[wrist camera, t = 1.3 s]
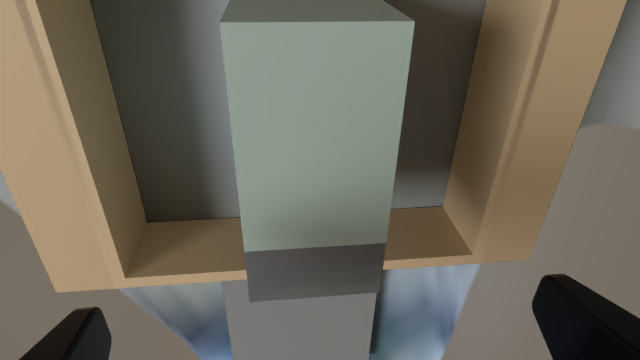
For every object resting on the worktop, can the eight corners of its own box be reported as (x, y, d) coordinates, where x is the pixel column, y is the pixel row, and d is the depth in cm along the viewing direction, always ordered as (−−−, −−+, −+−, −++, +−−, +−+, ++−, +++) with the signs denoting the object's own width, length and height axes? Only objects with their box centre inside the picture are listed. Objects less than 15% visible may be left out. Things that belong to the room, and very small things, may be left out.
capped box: (354, -19, 14) (415, 21, 9) (344, 176, 19) (379, 292, 13) (238, -19, 14) (219, 22, 8) (254, 180, 18) (249, 302, 12)
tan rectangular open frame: (581, -100, 14) (667, -106, 11) (491, 211, 21) (528, 259, 18) (-37, -115, 12) (-136, -128, 9) (89, 234, 19) (56, 292, 16)
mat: (377, 256, 22) (380, 264, 21) (366, 352, 26) (368, 361, 25) (221, 266, 21) (220, 275, 20) (236, 364, 25) (235, 373, 24)
